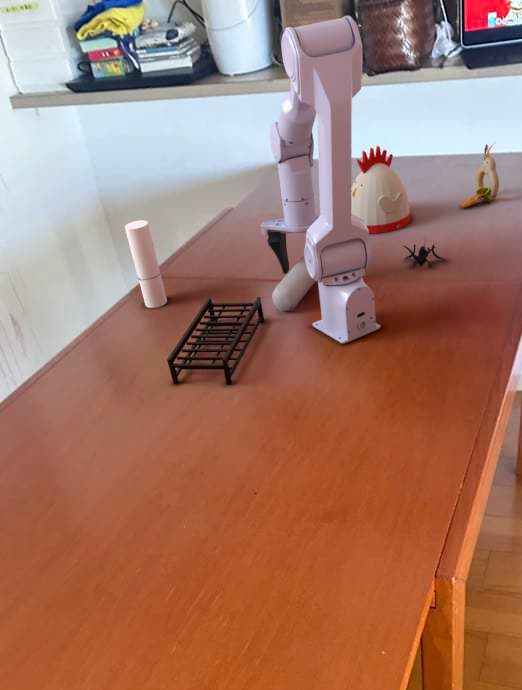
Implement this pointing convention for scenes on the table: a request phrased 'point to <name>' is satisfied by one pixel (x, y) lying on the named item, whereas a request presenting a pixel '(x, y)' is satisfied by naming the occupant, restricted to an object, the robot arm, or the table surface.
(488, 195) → the rattle
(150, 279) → the tube
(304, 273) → the tube
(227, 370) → the shoe rack
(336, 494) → the table surface
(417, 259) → the creature
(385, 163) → the kitchen timer
